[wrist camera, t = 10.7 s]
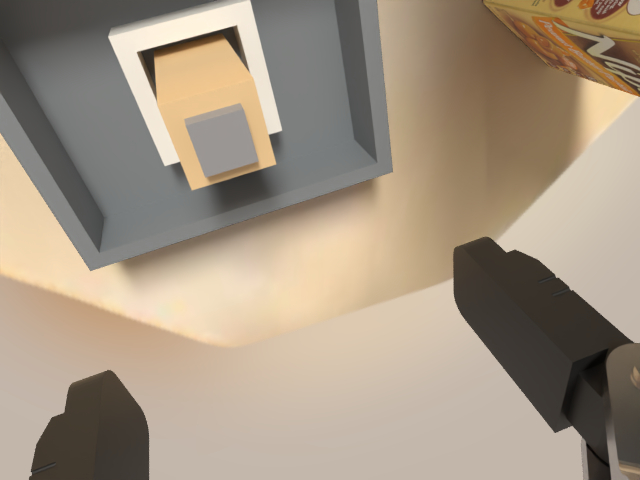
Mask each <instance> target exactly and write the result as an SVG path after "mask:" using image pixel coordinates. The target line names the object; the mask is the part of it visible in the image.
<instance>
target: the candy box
mask: <svg viewBox="0 0 640 480" xmlns="http://www.w3.org/2000/svg"><path fill="white" fill-rule="evenodd" d="M483 3H484V4H485V5H486V6H487V7H488V8H489V9H490V10H491V11H492V12H493V13H494V14H495V15H496V16H497V17H498V18H499V19H500V20H501V21H502V22H503V23H504V24H505V25H506V26H507V27H508V28H509V29H510V30H511V31H512V32H513V33H514V34H515V35H516V36H517V37H518V38H520V39H521V40H522V41H523V42H524V43H525V44H526V45H527V46H528V47H529V48H530V49H531V50H532V51H534V52H535V53H536V54H537V55H538V56H539V57H540V58H541V59H542V60H543V61H544V62H545V63H546V64H547V65H548V66H550V67H552V68H555V69H558V70H561V71H564V72H567V73H570V74H573V75H576V76H579V77H582V78H585V79H588V80H591V81H593V82H597V83H600V84H603V85H606V86H609V87H612V88H615V89H618V90H621V91H624V92H627V93H630V94H633V95H636V96H639V97H640V0H483Z"/></svg>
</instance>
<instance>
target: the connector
mask: <svg viewBox="0 0 640 480" xmlns="http://www.w3.org/2000/svg"><path fill="white" fill-rule="evenodd" d="M154 62H155V77H156V92H157V106H158V108H159V111H160V113H161V116H162V118H163V121H164V123H165V126H166V128H167V131H168V133H169V135H170V138H171V140H172V143H173V145H174V148H175V150H176V153H177V155H178V158H179V160H180V162H181V165H182V167H183V170H184V172H185V175H186V177H187V180H188V182H189V185H190V187H191V189H192V190H195V189H199V188H202V187H205V186H208V185H211V184H215V183H218V182H221V181H224V180H228V179H231V178H234V177H237V176H240V175H244V174H247V173H250V172H253V171H257V170H260V169H263V168H266V167H269V166H273V165H276V161H275V157H274V153H273V150H272V146H271V142H270V138H269V135H268V131H267V127H266V123H265V119H264V116H263V112H262V108H261V104H260V101H259V97H258V93H257V89H256V86H255V82H254V78H253V77H252V76H251V74H250V73H249V71H248V70H247V68H246V67H245V66H244V64H243V63H242V61H241V60H240V58H239V57H238V56H237V54H236V53H235V51H234V50H233V48H232V47H231V46H230V44H229V43H228V41H227V40H226V38H225V37H224V36H223V34H222V33H220V34H216V35H213V36H209V37H205V38H201V39H197V40H194V41H190V42H186V43H182V44H179V45H175V46H171V47H167V48H163V49H160V50H156V51H154Z"/></svg>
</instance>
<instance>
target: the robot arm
mask: <svg viewBox="0 0 640 480" xmlns="http://www.w3.org/2000/svg"><path fill="white" fill-rule="evenodd" d="M453 262H454V297H455V301H456V304H457V307H458V309H459V311H460V313H461V314H462V316H463V317H464V319H465V320H466V321H467V323H468V324H469V325H470V326H471V328H472V329H473V330H474V331H475V333H476V334H477V335H478V336H479V338H480V339H481V340H482V341H483V343H484V344H485V345H486V347H487V348H488V349H489V350H490V351H491V353H492V354H493V355H494V357H495V358H496V359H497V360H498V362H499V363H500V364H501V365H502V366H503V368H504V369H505V370H506V372H507V373H508V374H509V376H510V377H511V378H512V379H513V380H514V382H515V383H516V384H517V386H518V387H519V388H520V389H521V391H522V392H523V393H524V394H525V396H526V397H527V398H528V399H529V401H530V402H531V403H532V404H533V406H534V407H535V408H536V410H537V411H538V412H539V413H540V415H541V416H542V417H543V418H544V420H545V421H546V422H547V423H548V425H549V426H550V427H551V428H552V430H553V431H554V432H555V433H556V432H558V431H561V430H563V429H565V428H568V427H570V426H573V427H574V428H575V429H576V430H577V431H578V432H579V434H580V435H581V436H582V440H581V452H582V466H583V480H640V343H634V342H633V341H631V340H630V339H628V338H627V337H626V336H625V335H624V334H623V333H621V332H620V331H619V330H618V329H617V328H616V327H615V326H613V325H612V324H611V323H610V322H609V321H608V320H607V319H605V318H604V317H603V316H602V315H600V313H598V312H597V311H596V310H595V309H594V308H593V307H592V306H590V305H589V304H588V303H587V302H586V301H585V300H584V299H582V298H581V297H580V296H579V295H578V294H576V293H575V292H574V291H573V290H572V291H571V290H570V289H569V286H567V285H566V284H565V283H564V282H563V281H562V280H560V279H559V278H556V277H555V274H554V273H552V272H551V271H550V270H549V269H548V268H547V267H546V266H545V265H543V264H542V263H541V262H540V261H539V260H537V259H535V258H533V257H531V256H528V255H526V254H524V253H522V252H519V251H517V250H513V251H510V252H507V253H506V252H505V251H504V250H503V249H502V248H501V247H500V246H499V245H497V243H495V242H494V241H493V240H492V239H491V238H489V237H483V238H480V239H477V240H474V241H471V242H469V243H466V244H463V245H460V246H457V247H456V248H455V249H454V254H453ZM31 472H32V476H30V477H29V480H149V431H148V425H147V421H146V418H145V415H144V413H143V411H142V409H141V407H140V406H139V405H138V404H137V402H136V401H135V399H134V398H133V397H132V396H131V394H130V393H129V392H128V390H127V389H126V388H125V386H124V385H123V384H122V382H121V381H120V380H119V378H118V377H117V376H116V374H115V373H113V372H112V371H111V370H107V371H105V372H102V373H99V374H96V375H93V376H91V377H88V378H85V379H82V380H80V381H77V382H74V383H72V384H71V385H70V387H69V390H68V394H67V400H66V406H65V412H64V413H63V414H60V415H57V416H55V417H52V418H51V420H50V422H49V423H48V425H47V427H46V429H45V430H44V432H43V434H42V436H41V438H40V439H39V441H38V443H37V445H36V449H35V454H34V459H33V463H32V469H31Z"/></svg>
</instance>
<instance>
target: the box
mask: <svg viewBox="0 0 640 480" xmlns="http://www.w3.org/2000/svg"><path fill="white" fill-rule="evenodd" d="M220 33H222V34H223V36H224V37H225V38H226V40H227V41H228V43H229V44H230V46H231V47H232V48H233V50H234V51H235V53H236V54H237V56H238V57H239V58H240V60H241V61H242V63H243V64H244V66H245V67H246V68H247V70H248V71H249V73H250V74H251V76H252V77H253V78H254V82H255V86H256V89H257V93H258V97H259V101H260V104H261V108H262V112H263V116H264V119H265V123H266V127H267V131H268V135H269V138H270V142H271V146H272V150H273V153H274V157H275V161H276V165H273V166H269V167H266V168H263V169H260V170H257V171H253V172H250V173H247V174H244V175H240V176H237V177H234V178H231V179H228V180H224V181H221V182H218V183H215V184H211V185H208V186H205V187H202V188H199V189H195V190H192V189H191V187H190V185H189V182H188V180H187V177H186V175H185V172H184V170H183V167H182V165H181V162H180V160H179V158H178V155H177V153H176V150H175V148H174V145H173V143H172V140H171V138H170V135H169V133H168V131H167V128H166V126H165V123H164V121H163V118H162V116H161V113H160V111H159V108H158V106H157V92H156V77H155V62H154V51H156V50H160V49H163V48H167V47H171V46H175V45H179V44H182V43H186V42H190V41H194V40H197V39H201V38H205V37H209V36H213V35H216V34H220ZM0 133H1V134H2V136H3V138H4V139H5V141H6V142H7V144H8V145H9V147H10V148H11V150H12V151H13V153H14V154H15V156H16V158H17V159H18V161H19V162H20V164H21V165H22V167H23V168H24V170H25V171H26V173H27V174H28V176H29V177H30V179H31V181H32V182H33V184H34V185H35V187H36V188H37V190H38V191H39V193H40V194H41V196H42V197H43V199H44V200H45V202H46V204H47V205H48V207H49V208H50V210H51V211H52V213H53V214H54V216H55V217H56V219H57V220H58V222H59V224H60V225H61V227H62V228H63V230H64V231H65V233H66V234H67V236H68V237H69V239H70V240H71V242H72V243H73V245H74V247H75V248H76V250H77V251H78V253H79V254H80V256H81V257H82V259H83V260H84V262H85V263H86V265H87V266H88V268H89V270H90V271H92V270H95V269H98V268H101V267H104V266H107V265H110V264H114V263H117V262H120V261H123V260H126V259H129V258H132V257H135V256H138V255H141V254H144V253H147V252H150V251H153V250H156V249H159V248H162V247H165V246H168V245H171V244H175V243H178V242H181V241H184V240H187V239H190V238H193V237H196V236H199V235H202V234H205V233H208V232H211V231H214V230H217V229H220V228H223V227H226V226H229V225H233V224H236V223H239V222H242V221H245V220H248V219H251V218H254V217H257V216H260V215H263V214H266V213H269V212H272V211H275V210H278V209H281V208H284V207H287V206H290V205H294V204H297V203H300V202H303V201H306V200H309V199H312V198H315V197H318V196H321V195H324V194H327V193H330V192H333V191H336V190H339V189H342V188H345V187H348V186H352V185H355V184H358V183H361V182H364V181H367V180H370V179H373V178H376V177H379V176H382V175H385V174H388V173H391V172H393V168H392V157H391V147H390V136H389V125H388V115H387V104H386V94H385V83H384V73H383V62H382V52H381V41H380V30H379V20H378V9H377V0H0Z"/></svg>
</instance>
